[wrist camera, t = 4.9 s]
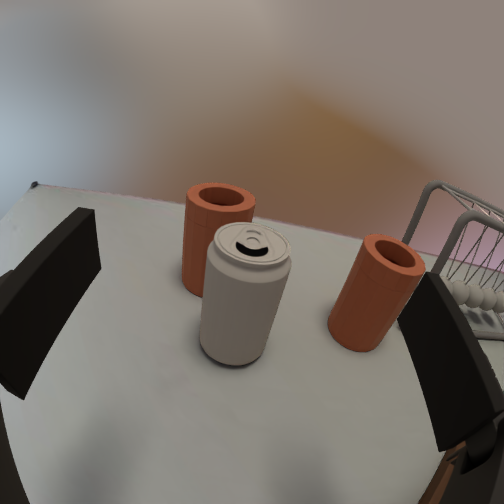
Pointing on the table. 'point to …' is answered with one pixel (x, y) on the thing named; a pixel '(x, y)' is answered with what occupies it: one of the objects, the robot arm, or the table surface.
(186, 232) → the jar
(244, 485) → the table surface
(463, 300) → the newton's cradle
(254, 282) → the beverage can
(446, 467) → the can tray
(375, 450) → the table surface
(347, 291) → the jar
